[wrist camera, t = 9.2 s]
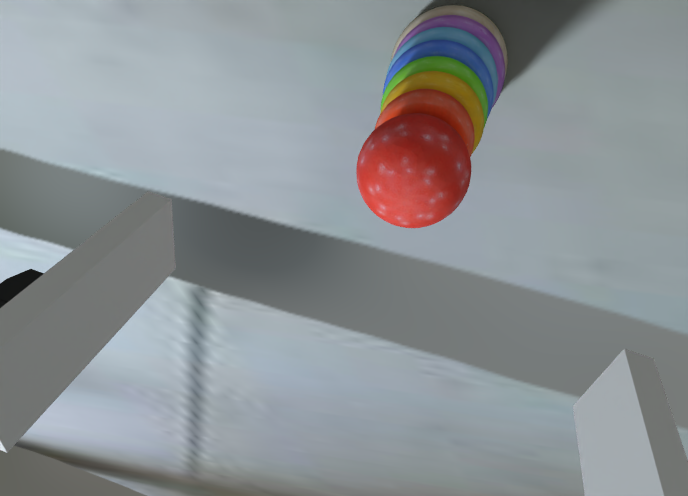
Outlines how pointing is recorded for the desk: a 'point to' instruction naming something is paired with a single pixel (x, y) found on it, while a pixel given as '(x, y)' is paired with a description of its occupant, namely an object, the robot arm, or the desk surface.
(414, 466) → the desk surface
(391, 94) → the stacking toy
